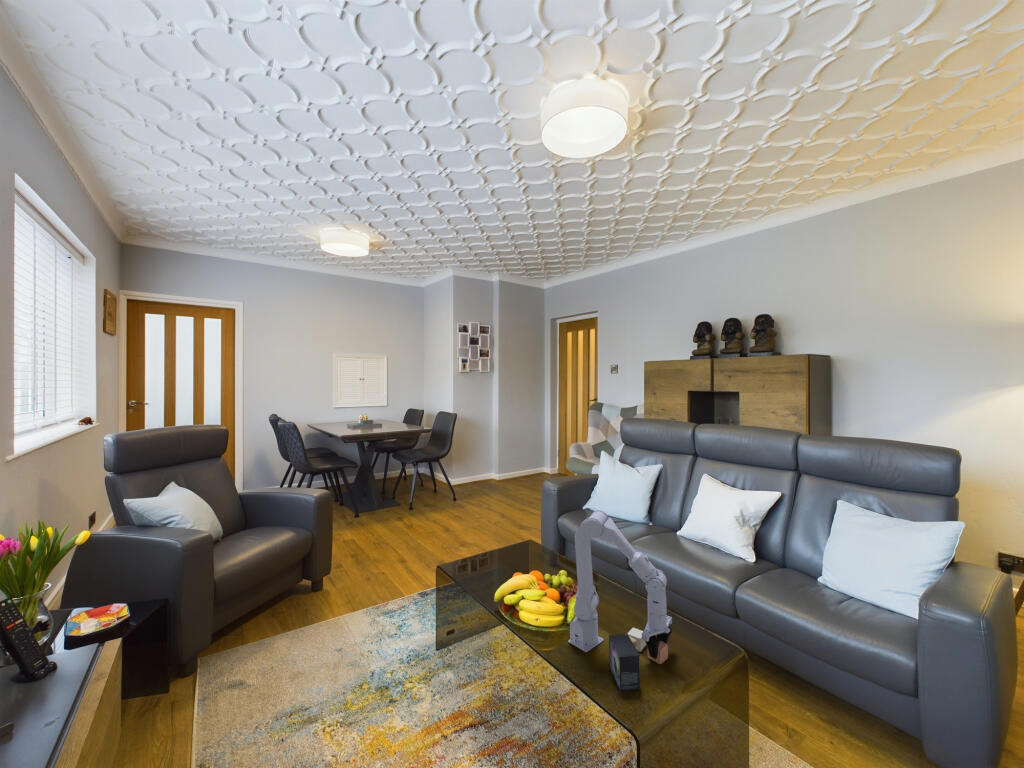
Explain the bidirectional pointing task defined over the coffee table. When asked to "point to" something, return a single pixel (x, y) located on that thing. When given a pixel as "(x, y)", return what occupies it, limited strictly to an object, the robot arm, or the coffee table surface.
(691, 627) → the coffee table surface
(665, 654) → the terracotta cube
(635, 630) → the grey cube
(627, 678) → the small box
